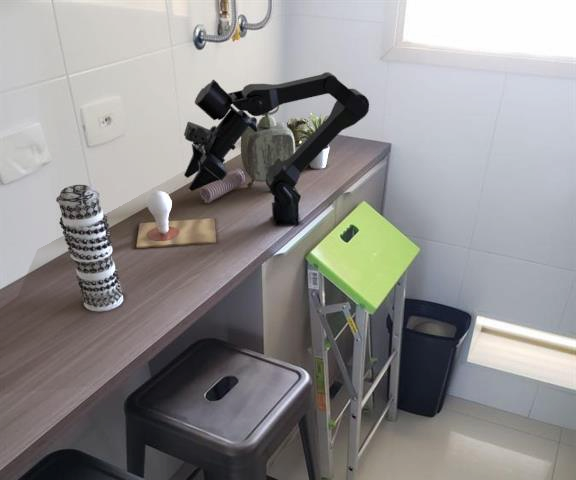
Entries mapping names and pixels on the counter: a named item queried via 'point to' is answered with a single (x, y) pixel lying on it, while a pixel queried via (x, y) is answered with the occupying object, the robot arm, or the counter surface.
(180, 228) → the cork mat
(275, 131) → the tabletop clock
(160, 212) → the lightbulb
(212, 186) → the coil
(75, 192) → the white patterned tall cylinder
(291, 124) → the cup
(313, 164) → the house plant
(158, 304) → the counter surface
